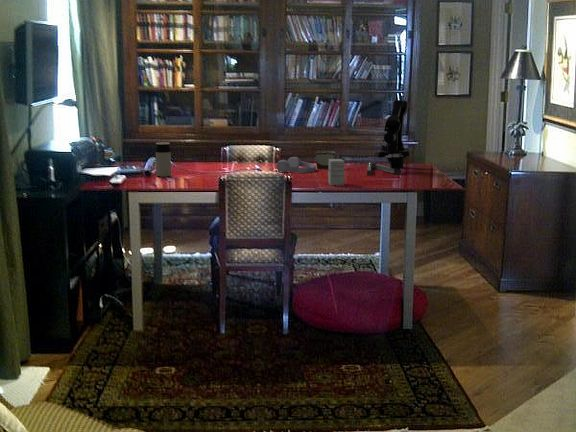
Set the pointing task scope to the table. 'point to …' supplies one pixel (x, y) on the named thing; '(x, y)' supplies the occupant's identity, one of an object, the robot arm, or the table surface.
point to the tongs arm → (388, 169)
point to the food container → (324, 158)
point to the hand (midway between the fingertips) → (392, 169)
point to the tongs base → (370, 167)
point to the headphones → (295, 165)
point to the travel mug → (163, 159)
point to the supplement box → (336, 172)
